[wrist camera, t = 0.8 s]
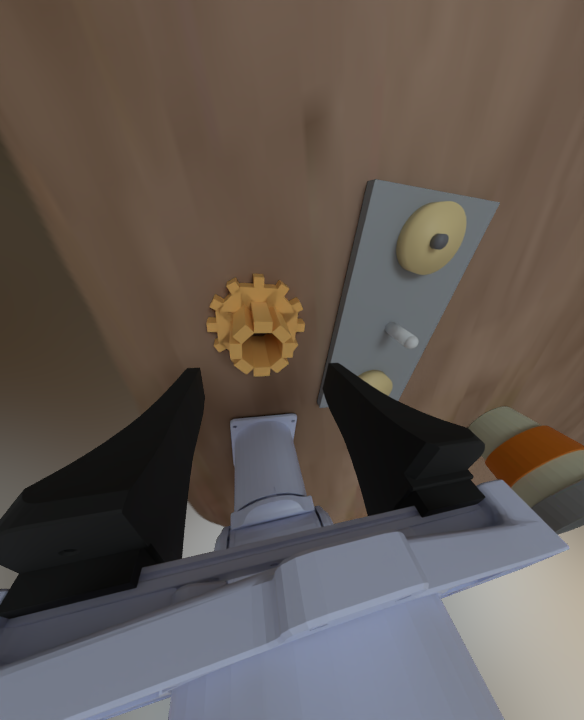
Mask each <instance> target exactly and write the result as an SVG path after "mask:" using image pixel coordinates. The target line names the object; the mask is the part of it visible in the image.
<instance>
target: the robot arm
mask: <svg viewBox="0 0 584 720" xmlns="http://www.w3.org/2000/svg"><path fill="white" fill-rule="evenodd" d="M322 389H323V393H324V396H325V399H326V402H327V405H328V407H329V409H330V411H331V413H332V415H333V417H334V419H335V421H336V423H337V425H338V427H339V430H340V432H341V434H342V436H343V438H344V440H345V443H346V446H347V449H348V451H349V454H350V457H351V460H352V463H353V466H354V469H355V472H356V475H357V478H358V482H359V485H360V488H361V492H362V495H363V499H364V503H365V507H366V511H367V514H368V516H367V517H363V518H358V519H354V520H350V521H345V522H341V523H336V524H333V522H332V520H331V518H330V516H329V515H328V513H327V512H326V511H324V510H323V508H322V507H320V506H314V505H313V501H312V497H311V496H307V495H306V491H305V487H304V483H303V478H302V474H301V470H300V466H299V462H298V458H297V454H296V450H295V446H294V442H293V439H294V433H295V427H296V421H297V415H296V414H294V413H293V414H282V415H271V416H260V417H249V418H239V419H232V420H231V421H230V428H231V440H232V451H233V463H234V467H235V496H234V512H233V513H231V526H227V527H224V528H223V530H222V532H221V534H220V535H219V536H218V538H217V540H216V544H215V550H214V551H213V552H209V553H205V554H200V555H196V556H191V557H187V558H183V559H182V551H183V540H184V528H185V519H186V509H187V499H188V491H189V482H190V475H191V467H192V460H193V455H194V450H195V446H196V442H197V438H198V434H199V429H200V425H201V421H202V417H203V410H204V401H205V395H204V389H203V383H202V377H201V371H200V368H187V369H186V370H185V371H184V372H183V373H182V375H181V376H180V377H179V378H178V379H177V380H176V381H175V382H174V384H173V385H172V386H171V387H170V388H169V389H168V390H167V391H166V392H165V393H164V394H163V395H162V396H161V397H160V398H159V399H158V400H157V401H156V402H155V403H154V404H153V405H152V406H151V407H150V408H149V409H148V410H146V411H145V412H144V413H143V414H142V415H141V416H140V417H138V418H137V419H136V420H135V421H133V422H132V423H131V424H130V425H128V426H127V427H126V428H124V429H123V430H121V431H120V432H119V433H117V434H116V435H114V436H113V437H112V438H110V439H109V440H107V441H106V442H105V443H103V444H102V445H100V446H98V447H97V448H95V449H94V450H92V451H91V452H89V453H87V454H86V455H84V456H82V457H81V458H79V459H77V460H76V461H74V462H72V463H71V464H69V465H67V466H66V467H64V468H62V469H60V470H58V471H57V472H55V473H53V474H51V475H49V476H47V477H46V478H44V479H42V480H40V481H38V482H37V483H35V484H33V485H31V486H29V487H27V488H25V489H24V490H23V492H22V493H21V494H20V495H19V496H18V497H17V499H16V500H15V501H14V503H13V504H12V505H11V506H10V508H9V509H8V510H7V512H6V513H5V514H4V515H3V517H2V518H1V519H0V565H1V566H4V567H6V568H8V569H10V570H13V571H15V572H17V573H19V575H18V576H17V578H16V580H15V581H14V583H13V584H12V586H11V588H10V589H0V720H107V719H109V718H112V717H115V716H118V715H120V714H124V713H126V712H129V711H132V710H135V709H138V708H141V707H144V706H146V705H149V704H152V703H155V702H158V701H160V700H163V699H166V698H169V697H171V702H170V710H169V717H168V720H505V719H504V718H503V716H502V714H501V712H500V710H499V708H498V706H497V704H496V703H495V701H494V699H493V697H492V695H491V693H490V691H489V689H488V687H487V686H486V684H485V682H484V680H483V678H482V676H481V674H480V672H479V671H478V668H477V667H476V665H475V663H474V661H473V659H472V657H471V655H470V653H469V651H468V650H467V648H466V646H465V644H464V642H463V640H462V638H461V636H460V634H459V633H458V631H457V629H456V627H455V625H454V623H453V621H452V619H451V618H450V616H449V614H448V612H447V610H446V608H445V606H444V604H443V602H442V600H441V599H442V598H444V597H447V596H450V595H452V594H455V593H458V592H460V591H463V590H466V589H468V588H471V587H474V586H476V585H479V584H482V583H484V582H487V581H490V580H493V579H495V578H498V577H501V576H503V575H506V574H509V573H512V572H514V571H517V570H520V569H523V568H525V567H527V566H530V565H532V564H535V563H537V562H539V561H542V560H544V559H547V558H549V557H552V556H554V555H556V554H559V553H561V552H564V551H566V550H568V549H569V546H568V545H567V544H566V543H565V542H564V541H563V540H562V539H561V538H560V537H559V536H558V535H557V534H556V533H555V532H554V531H553V530H552V529H551V528H550V527H549V526H548V525H547V524H546V523H545V522H544V521H543V520H542V519H541V518H540V517H539V516H538V515H537V514H536V513H535V512H534V511H533V510H532V509H531V508H530V507H529V506H528V505H527V504H526V503H525V502H524V501H523V500H522V499H521V498H520V497H519V496H518V495H517V494H516V493H515V492H514V491H513V490H512V489H511V488H510V487H509V486H508V485H507V484H506V483H505V482H504V481H503V480H501V479H498V480H494V481H489V482H484V483H481V484H479V485H477V486H475V484H474V483H473V482H472V481H471V480H470V479H473V475H472V474H471V473H470V472H469V470H468V468H469V467H470V466H471V465H472V464H473V463H474V462H475V461H476V460H477V459H478V458H479V457H480V456H481V455H482V454H483V452H484V450H485V444H484V443H483V441H481V440H480V439H479V438H478V437H477V436H476V435H475V434H474V433H473V432H472V431H471V430H470V429H468V428H466V427H463V426H459V425H456V424H453V423H450V422H447V421H444V420H441V419H438V418H436V417H433V416H430V415H428V414H425V413H423V412H420V411H418V410H416V409H413V408H411V407H409V406H407V405H405V404H403V403H401V402H399V401H397V400H395V399H393V398H391V397H389V396H387V395H386V394H384V393H382V392H381V391H379V390H377V389H376V388H374V387H373V386H371V385H370V384H368V383H367V382H365V381H364V380H362V379H361V378H359V377H358V376H357V375H355V374H354V373H352V372H351V371H350V370H348V369H347V368H345V367H344V366H343V365H341V364H339V363H328V367H327V372H326V376H325V380H324V384H323V388H322Z"/></svg>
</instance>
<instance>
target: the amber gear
mask: <svg viewBox="0 0 584 720" xmlns="http://www.w3.org/2000/svg"><path fill="white" fill-rule="evenodd" d="M227 288H228V289H229V291H230V293H229V294H228V295H227V296H226V297H225V298H224V299H223V298H222V297H220V296H218V295H216V294H215V295H214V297H213V299H212V301H211V304H210V308H212V309H214V310H216V311H215V313H216V317H208V320H207V331H208V332H217V333H218V338H217V339H215V343H214V347H215V348H216V349H217V350H218V352H221V351H223V350H225V349H228V350H229V351H230V359H232V360H231V361H232V362H234V366H235V367H237V368H238V369H239V370H241V371H242V372H244V373H245V374H246V375H247V374H248V373H249V372H250V371H251V370H253V373H254V377H255V376H270V368H271V369H272V370H274V371H275V372H276V373H278V372H279V371H280V370H281V369H283V368H284V367H285V366H286V365H288V364H289V362H288V360H287V358H292V357H293V351H294V350H295V348H296V347H297V346H298V343H297V341H296V339H295V334H296V332H304V327H305V323H304V322H303V320H302V319H297V318H298V312H299V311H301V310H303V308H302V306H301V303H300V301H299V300H298V299H297V297H295V298H293V299H292V300H290V301H288V299H287V298H286V297H285V295H286V293H287V292H288V290H289V288H288V287H287V285H286V284H284V283H283V282H281V281H280V280H278V282H277V283H276V285H273V284H264V276H263V274H253V283H239V282H238V280H237V279H236V277H235V278H233V279H232V280H230V281H228V282H227ZM254 333H266V334H265V335H264V336H251V335H253V334H254Z"/></svg>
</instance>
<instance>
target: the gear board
mask: <svg viewBox="0 0 584 720" xmlns="http://www.w3.org/2000/svg"><path fill="white" fill-rule="evenodd" d="M499 204H500V203H499V202H494V201H489V200H483V199H478V198H473V197H467V196H462V195H457V194H451V193H446V192H441V191H435V190H430V189H425V188H419V187H414V186H409V185H403V184H398V183H393V182H387V181H382V180H377V179H375V180H371V181H368V183H367V187H366V191H365V196H364V200H363V204H362V209H361V213H360V217H359V222H358V226H357V231H356V235H355V239H354V244H353V248H352V252H351V257H350V261H349V265H348V270H347V274H346V279H345V283H344V287H343V292H342V296H341V300H340V305H339V309H338V313H337V318H336V322H335V327H334V331H333V335H332V340H331V344H330V348H329V353H328V357H327V361H326V366H325V370H324V375H323V379H322V383H321V388H320V392H319V396H318V401H317V403H318V405H319V407H320V408H324V407H328V405H327V402H326V399H325V396H324V393H323V389H322V388H323V384H324V380H325V376H326V372H327V367H328V363H339V364H341V365H343V366H344V367H345V368H347V369H348V370H350V371H351V372H352V373H354V374H355V375H357V376H358V377H359V378H361V379H362V380H364V381H365V382H367V383H368V384H370V385H371V386H373V387H374V388H376V389H377V390H379V391H381V392H382V393H384V394H386V395H387V396H389V397H391V398H393V399H395V400H397V401H398V400H399V398H400V396H401V394H402V392H403V390H404V388H405V386H406V384H407V382H408V380H409V379H410V377H411V375H412V373H413V371H414V369H415V367H416V365H417V363H418V361H419V359H420V357H421V355H422V353H423V351H424V349H425V347H426V345H427V344H428V342H429V340H430V338H431V336H432V334H433V332H434V330H435V328H436V326H437V324H438V322H439V320H440V318H441V316H442V314H443V312H444V311H445V309H446V307H447V305H448V303H449V301H450V299H451V297H452V295H453V293H454V291H455V289H456V287H457V285H458V283H459V281H460V279H461V277H462V276H463V274H464V272H465V270H466V268H467V266H468V264H469V262H470V260H471V258H472V256H473V254H474V252H475V250H476V248H477V246H478V244H479V243H480V241H481V239H482V237H483V235H484V233H485V231H486V229H487V227H488V225H489V223H490V221H491V219H492V217H493V215H494V213H495V211H496V209H497V208H498V206H499Z"/></svg>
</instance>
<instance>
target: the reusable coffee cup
mask: <svg viewBox="0 0 584 720" xmlns="http://www.w3.org/2000/svg"><path fill="white" fill-rule="evenodd" d="M468 429H470V430H471V431H472V432H473V433H474V434H475V435H476V436H477V437H478V438H479V439H480V440H481V441H483V443H484V444H485V450H484V452H483V454H482V455H481V456H482V457H483V458H484V459H485V460H486V461H485V464H486V466H487V467H488V468H489V469H490V470H491V472H492V473H493V474H494V475H495V477H496V478H497V479H501V480H503V481H504V482H505V483H506V484H507V485H508V486H509V487H510V488H511V489H512V490H513V491H514V492H515V493H516V494H517V495H518V496H519V497H520V498H521V499H522V500H523V501H524V502H525V503H526V504H527V505H528V506H529V507H530V508H531V509H532V510H533V511H534V512H535V513H536V514H537V515H538V516H539V517H540V518H541V519H542V520H543V521H544V522H545V523H546V524H547V525H548V526H549V527H550V528H551V529H552V530H553V531H554V532H555V533H556V534H557V535H558V534H561V533H564V532H567V531H570V530H572V529H575V528H578V527H580V526H582V525H584V446H583V445H582V444H580V443H578V442H576V441H574V440H573V439H571V438H569V437H567V436H565V435H563V434H562V433H560V432H558V431H556V430H554V429H553V428H551V427H549V426H542V425H540V424H538V423H536V422H535V421H533V420H531V419H529V418H528V417H526V416H524V415H522V414H520V413H519V412H517V411H515V410H513V409H511V408H510V407H499V408H496V409H493V410H491V411H489V412H487V413H485V414H483V415H482V416H480V417H479V418H477V419H476V420H475V421H474V422H473V423H472V424H471V425H470V426H469V427H468Z"/></svg>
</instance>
